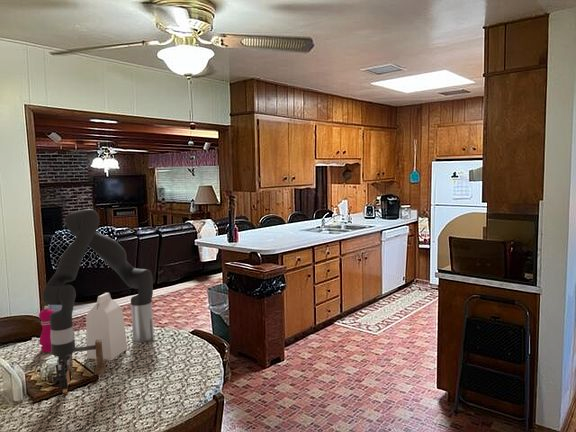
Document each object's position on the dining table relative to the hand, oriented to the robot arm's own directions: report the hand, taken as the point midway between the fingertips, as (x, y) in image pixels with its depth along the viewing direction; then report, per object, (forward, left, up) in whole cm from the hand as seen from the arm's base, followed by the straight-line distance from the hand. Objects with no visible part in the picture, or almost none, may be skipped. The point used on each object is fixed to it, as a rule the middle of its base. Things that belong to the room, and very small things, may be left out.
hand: (66, 384), depth 157 cm
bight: (0, 0, -2) cm, 2 cm away
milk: (-10, -30, -2) cm, 32 cm away
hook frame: (-3, -13, -2) cm, 13 cm away
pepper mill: (+16, -43, -2) cm, 46 cm away
